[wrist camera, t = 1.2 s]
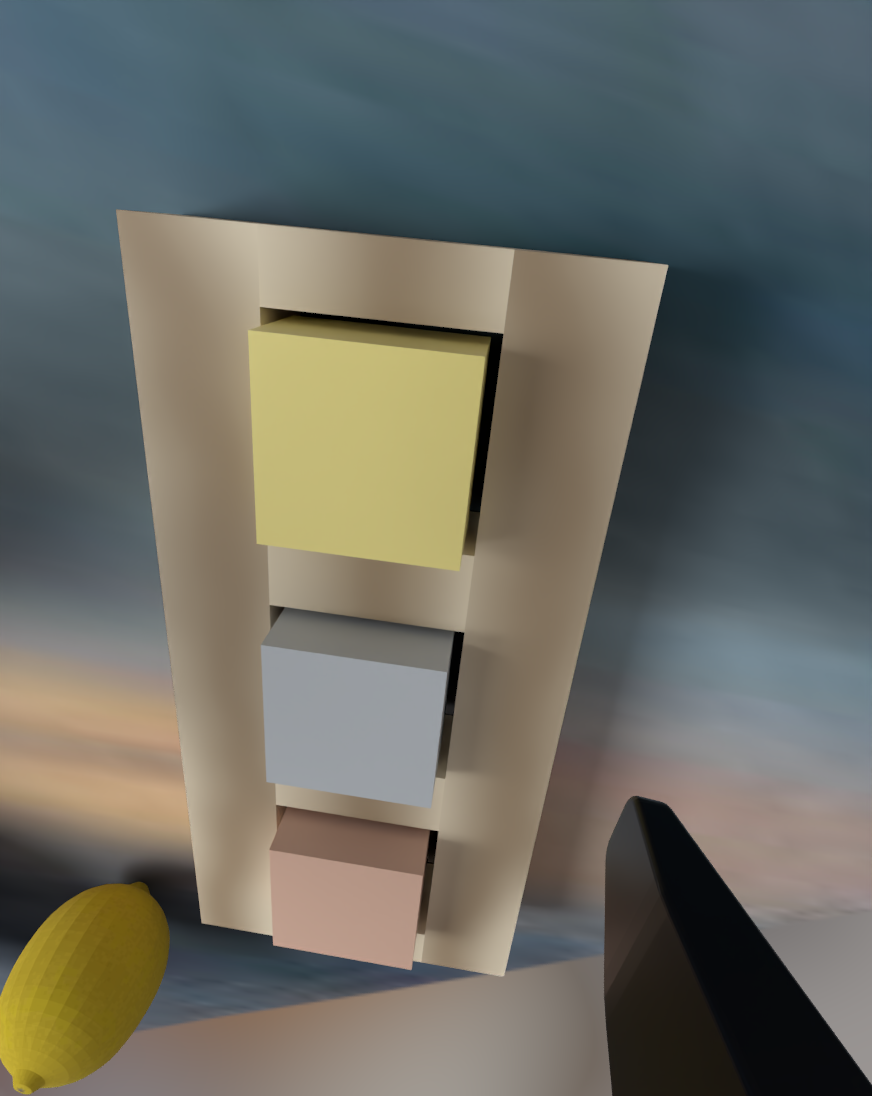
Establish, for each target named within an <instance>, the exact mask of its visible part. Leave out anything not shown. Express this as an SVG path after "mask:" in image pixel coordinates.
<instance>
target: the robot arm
mask: <svg viewBox="0 0 872 1096" xmlns="http://www.w3.org/2000/svg"><path fill="white" fill-rule="evenodd" d="M604 1000H605V1016H606V1030H607V1041H608V1052H609V1063H610V1074H611V1085H612V1096H872V1084H871V1083H870V1082H869V1080H868V1079H867V1077H866V1076H865V1075H864V1073H863V1072H862V1071H861V1070H860V1068H859V1066H858V1065H857V1064H856V1062H855V1061H854V1060H853V1058H852V1057H851V1055H850V1054H849V1053H848V1051H847V1050H846V1049H845V1047H844V1046H843V1044H842V1043H841V1042H840V1040H839V1039H838V1038H837V1036H836V1035H835V1033H834V1032H833V1031H832V1029H831V1028H830V1027H829V1025H828V1024H827V1023H826V1021H825V1020H824V1018H823V1017H822V1016H821V1014H820V1013H819V1011H818V1010H817V1009H816V1007H815V1006H814V1005H813V1003H812V1002H811V1000H810V999H809V998H808V996H807V995H806V994H805V992H804V991H803V990H802V988H801V987H800V985H799V984H798V983H797V981H796V980H795V978H794V977H793V976H792V974H791V973H790V972H789V970H788V969H787V967H786V966H785V965H784V963H783V962H782V961H781V959H780V958H779V956H778V955H777V954H776V952H775V951H774V950H773V948H772V947H771V946H770V944H769V943H768V941H767V940H766V939H765V937H764V936H763V935H762V933H761V932H760V930H759V929H758V928H757V926H756V925H755V923H754V922H753V921H752V919H751V918H750V917H749V915H748V914H747V912H746V911H745V910H744V908H743V907H742V906H741V904H740V903H739V901H738V900H737V899H736V897H735V896H734V895H733V893H732V892H731V890H730V889H729V888H728V886H727V885H726V884H725V882H724V881H723V879H722V878H721V877H720V875H719V874H718V873H717V871H716V870H715V868H714V867H713V866H712V864H711V863H710V862H709V860H708V859H707V857H706V856H705V855H704V853H703V852H702V851H701V849H700V848H699V846H698V845H697V844H696V842H695V841H694V840H693V838H692V837H691V835H690V834H689V833H688V831H687V830H686V828H685V827H684V826H683V824H682V823H681V822H680V820H679V819H678V817H677V816H676V815H675V813H674V812H673V811H672V809H671V808H670V807H669V806H668V805H667V804H665V803H663V802H660V801H656V800H652V799H648V798H644V797H639V796H633V797H631V798H630V799H629V800H628V801H627V803H626V805H625V807H624V809H623V811H622V813H621V816H620V818H619V820H618V822H617V824H616V827H615V829H614V831H613V833H612V835H611V838H610V840H609V843H608V847H607V852H606V869H605V945H604Z"/></svg>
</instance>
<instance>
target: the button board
mask: <svg viewBox="0 0 872 1096" xmlns="http://www.w3.org/2000/svg"><path fill="white" fill-rule="evenodd" d="M116 213H117V221H118V230H119V238H120V246H121V255H122V263H123V271H124V280H125V288H126V296H127V305H128V313H129V321H130V330H131V338H132V346H133V355H134V363H135V372H136V380H137V388H138V397H139V405H140V413H141V422H142V430H143V438H144V447H145V455H146V463H147V472H148V480H149V488H150V497H151V505H152V513H153V522H154V530H155V538H156V547H157V555H158V563H159V572H160V580H161V588H162V597H163V605H164V613H165V622H166V630H167V638H168V647H169V655H170V663H171V672H172V680H173V688H174V697H175V705H176V713H177V722H178V730H179V738H180V747H181V755H182V763H183V772H184V780H185V788H186V797H187V805H188V813H189V822H190V830H191V838H192V847H193V855H194V863H195V872H196V880H197V888H198V897H199V905H200V913H201V922H202V923H204V924H209V925H215V926H220V927H226V928H232V929H237V930H243V931H249V932H254V933H260V934H266V935H271V936H273V929H272V905H271V880H270V856H269V849H270V847H271V844H272V842H273V840H274V837H275V835H276V832H277V830H278V827H279V825H280V823H281V820H282V818H283V815H284V813H285V810H286V808H287V807H293V808H299V809H306V810H312V811H318V812H324V813H330V814H336V815H342V816H348V817H355V818H361V819H367V820H373V821H379V822H385V823H391V824H397V825H403V826H410V827H416V828H422V829H428V830H434V831H438V838H437V846H436V854H435V861H434V864H429V863H426V872H425V880H424V888H423V895H422V902H421V909H420V915H419V922H418V929H417V936H416V943H415V949H414V956H413V961H418V962H423V963H429V964H434V965H440V966H446V967H451V968H457V969H463V970H468V971H474V972H480V973H485V974H491V975H497V976H502V977H504V974H505V969H506V965H507V961H508V956H509V952H510V948H511V944H512V939H513V935H514V931H515V926H516V922H517V918H518V913H519V909H520V905H521V900H522V896H523V892H524V887H525V883H526V879H527V874H528V870H529V866H530V861H531V857H532V853H533V848H534V844H535V840H536V835H537V831H538V827H539V822H540V818H541V814H542V809H543V805H544V801H545V796H546V792H547V788H548V784H549V779H550V775H551V771H552V766H553V762H554V758H555V753H556V749H557V745H558V740H559V736H560V732H561V727H562V723H563V719H564V714H565V710H566V706H567V701H568V697H569V693H570V688H571V684H572V680H573V675H574V671H575V667H576V662H577V658H578V654H579V649H580V645H581V641H582V636H583V632H584V628H585V624H586V619H587V615H588V611H589V606H590V602H591V598H592V593H593V589H594V585H595V580H596V576H597V572H598V567H599V563H600V559H601V554H602V550H603V546H604V541H605V537H606V533H607V528H608V524H609V520H610V515H611V511H612V507H613V502H614V498H615V494H616V489H617V485H618V481H619V476H620V472H621V468H622V464H623V459H624V455H625V451H626V446H627V442H628V438H629V433H630V429H631V425H632V420H633V416H634V412H635V407H636V403H637V399H638V394H639V390H640V386H641V381H642V377H643V373H644V368H645V364H646V360H647V355H648V351H649V347H650V342H651V338H652V334H653V329H654V325H655V321H656V316H657V312H658V308H659V304H660V299H661V295H662V291H663V286H664V282H665V278H666V273H667V269H668V265H665V264H658V263H651V262H645V261H636V260H626V259H616V258H606V257H596V256H586V255H576V254H566V253H556V252H546V251H537V250H527V249H517V248H507V247H497V246H487V245H477V244H467V243H457V242H447V241H437V240H427V239H417V238H407V237H397V236H387V235H377V234H367V233H358V232H348V231H338V230H328V229H318V228H308V227H298V226H288V225H278V224H268V223H258V222H248V221H238V220H228V219H218V218H208V217H198V216H188V215H178V214H166V213H153V212H141V211H129V210H116ZM300 311H302V312H311V313H320V314H329V315H338V316H348V317H357V318H366V319H375V320H384V321H393V322H402V323H411V324H421V325H430V326H439V327H448V328H457V329H466V330H475V331H484V332H493V333H503V334H504V335H503V342H502V350H501V358H500V365H499V373H498V380H497V388H496V396H495V403H494V411H493V419H492V426H491V434H490V442H489V449H488V457H487V464H486V472H485V480H484V487H483V495H482V503H481V510H480V512H473V511H470V514H469V522H468V527H467V533H466V538H465V544H464V549H463V555H462V560H461V566H460V571H453V570H446V569H438V568H431V567H424V566H416V565H409V564H402V563H394V562H387V561H379V560H372V559H365V558H357V557H350V556H342V555H335V554H328V553H320V552H313V551H306V550H298V549H291V548H283V547H276V546H269V545H261V544H257V540H256V515H255V491H254V467H253V443H252V418H251V394H250V370H249V345H248V330H250V329H253V328H256V327H259V326H262V325H265V324H268V323H272V322H275V321H278V320H281V319H284V318H287V317H290V316H293V315H295V316H300ZM285 607H288V608H295V609H302V610H310V611H317V612H324V613H331V614H338V615H345V616H352V617H359V618H366V619H373V620H380V621H387V622H394V623H401V624H408V625H415V626H422V627H429V628H436V629H443V630H451V631H458V632H464V640H463V648H462V655H461V663H460V671H459V678H458V686H457V693H456V701H455V709H454V716H452V715H445V717H444V725H443V733H442V741H441V747H440V753H439V760H438V766H437V773H436V779H435V785H434V792H433V798H432V805H431V808H425V807H418V806H412V805H406V804H400V803H393V802H387V801H381V800H375V799H369V798H362V797H356V796H350V795H344V794H338V793H331V792H325V791H319V790H313V789H307V788H300V787H294V786H288V785H282V784H276V783H269V782H266V759H265V734H264V710H263V686H262V661H261V644H262V642H263V641H264V639H265V638H266V636H267V635H268V633H269V631H270V630H271V628H272V627H273V625H274V624H275V622H276V621H277V619H278V617H279V616H280V614H281V613H282V611H283V610H284V608H285Z"/></svg>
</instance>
